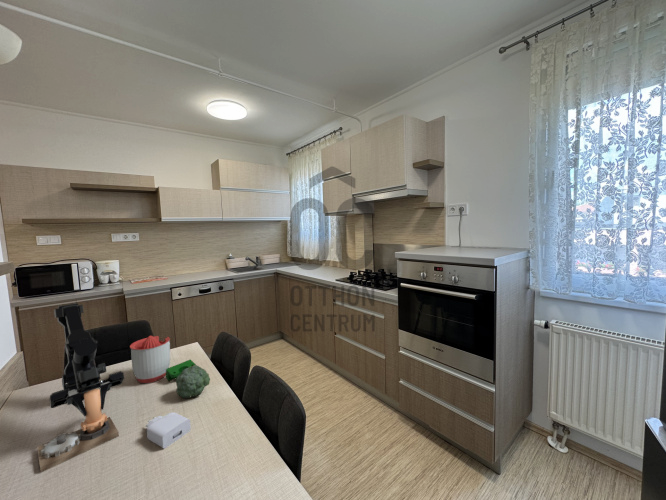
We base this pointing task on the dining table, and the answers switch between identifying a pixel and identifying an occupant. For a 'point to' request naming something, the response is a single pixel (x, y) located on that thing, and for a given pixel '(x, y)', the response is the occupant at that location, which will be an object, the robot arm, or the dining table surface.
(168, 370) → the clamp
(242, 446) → the dining table surface
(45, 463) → the gear board
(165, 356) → the citrus juicer
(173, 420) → the charger
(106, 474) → the dining table surface
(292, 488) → the dining table surface
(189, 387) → the vegetable
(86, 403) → the gear spindle
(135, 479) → the dining table surface
